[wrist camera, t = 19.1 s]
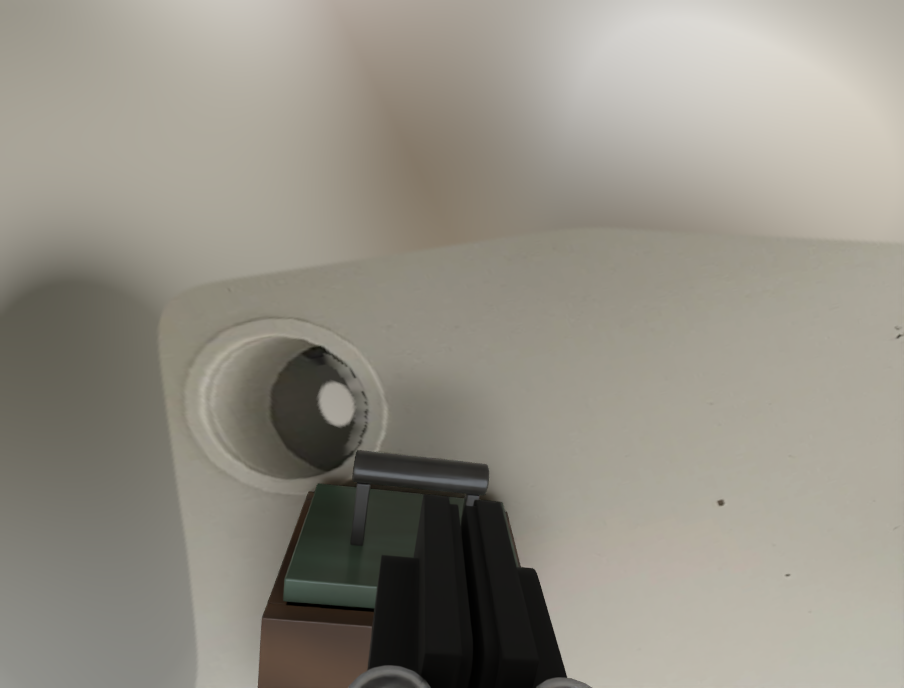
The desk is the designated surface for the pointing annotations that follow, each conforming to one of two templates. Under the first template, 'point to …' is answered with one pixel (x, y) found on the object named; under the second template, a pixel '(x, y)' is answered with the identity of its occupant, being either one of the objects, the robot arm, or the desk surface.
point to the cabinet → (313, 636)
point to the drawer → (370, 526)
